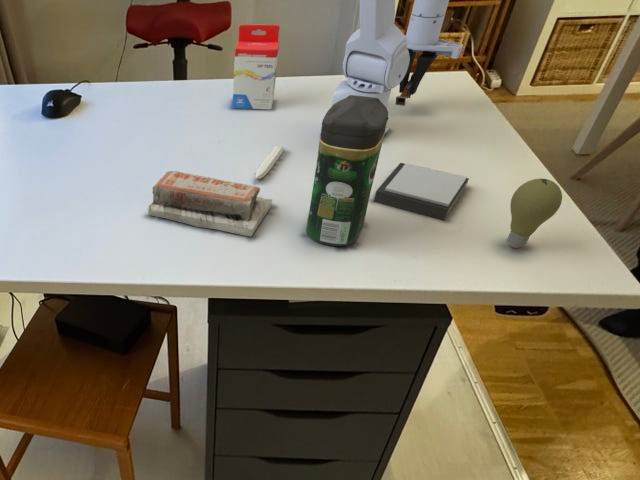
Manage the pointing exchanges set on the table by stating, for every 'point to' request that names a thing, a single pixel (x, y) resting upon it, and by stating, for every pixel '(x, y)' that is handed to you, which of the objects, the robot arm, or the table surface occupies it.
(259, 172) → the pen
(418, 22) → the robot arm
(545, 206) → the light bulb
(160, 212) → the packaged product
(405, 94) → the wooden post with brackets
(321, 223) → the coffee jar
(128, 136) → the table surface
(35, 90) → the table surface
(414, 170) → the scale
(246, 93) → the ink box
